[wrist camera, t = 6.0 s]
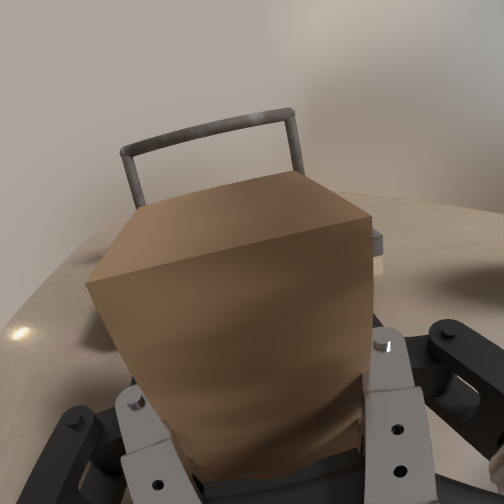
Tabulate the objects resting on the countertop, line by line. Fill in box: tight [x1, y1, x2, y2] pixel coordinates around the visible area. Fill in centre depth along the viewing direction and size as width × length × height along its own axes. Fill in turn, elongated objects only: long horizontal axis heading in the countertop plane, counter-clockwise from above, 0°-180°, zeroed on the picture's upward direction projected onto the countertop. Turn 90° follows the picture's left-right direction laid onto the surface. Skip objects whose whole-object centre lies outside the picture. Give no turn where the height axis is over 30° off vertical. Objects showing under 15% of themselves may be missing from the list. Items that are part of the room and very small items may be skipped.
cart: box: [120, 108, 383, 276], centre depth 27 cm, size 20×17×14 cm
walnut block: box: [85, 171, 373, 482], centre depth 10 cm, size 5×5×12 cm
